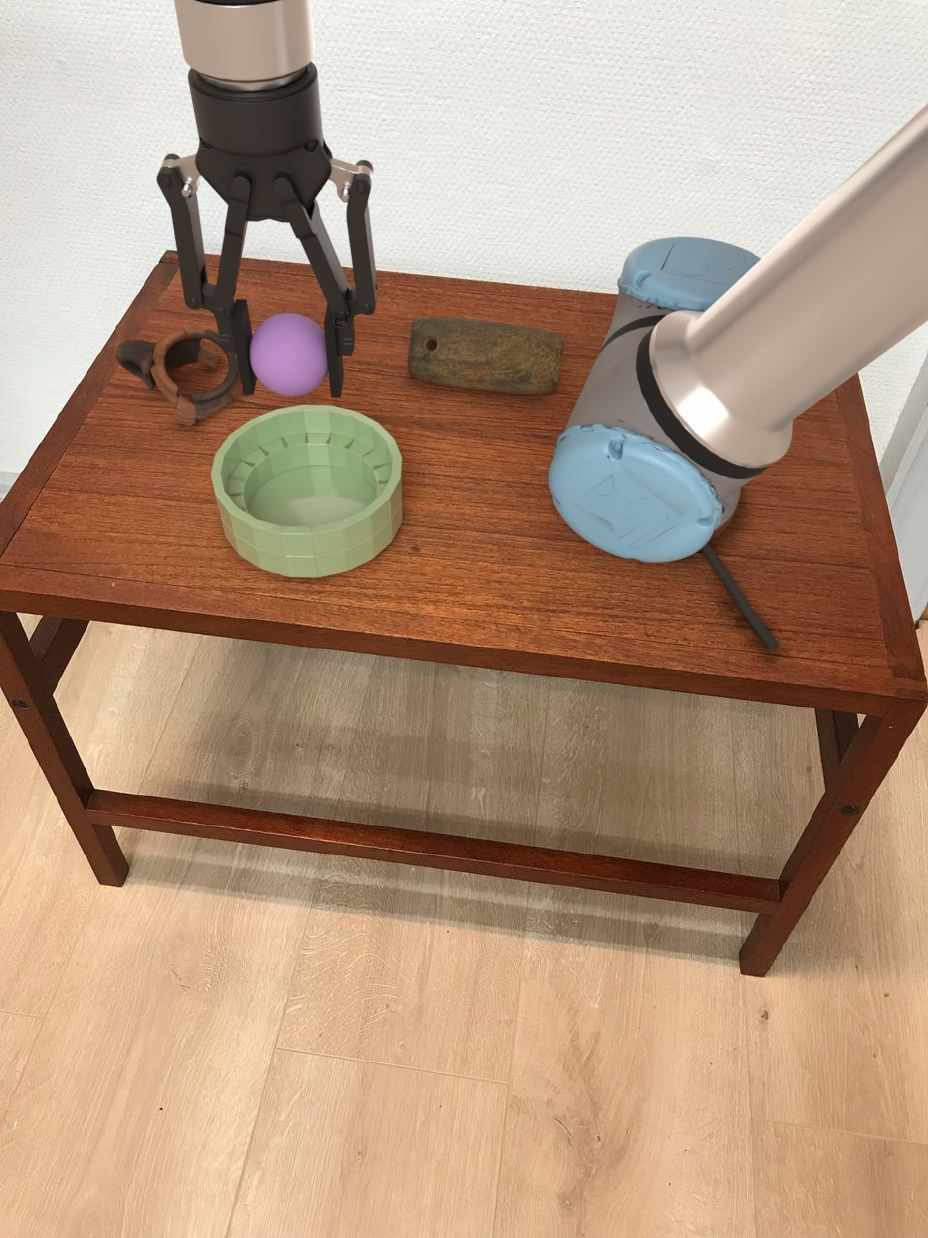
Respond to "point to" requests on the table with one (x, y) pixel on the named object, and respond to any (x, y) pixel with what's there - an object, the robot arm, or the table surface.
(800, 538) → the table surface
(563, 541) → the table surface
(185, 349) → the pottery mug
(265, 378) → the ball
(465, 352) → the stone weight
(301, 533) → the bowl
